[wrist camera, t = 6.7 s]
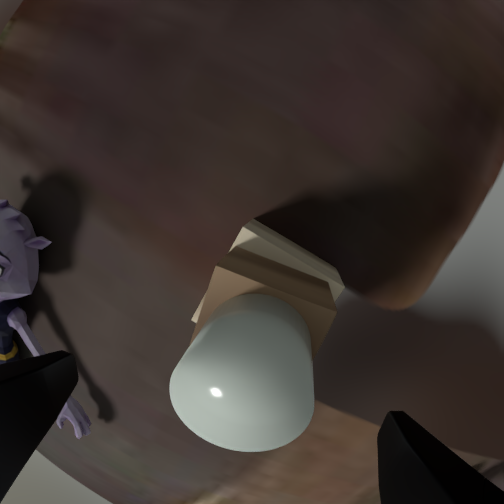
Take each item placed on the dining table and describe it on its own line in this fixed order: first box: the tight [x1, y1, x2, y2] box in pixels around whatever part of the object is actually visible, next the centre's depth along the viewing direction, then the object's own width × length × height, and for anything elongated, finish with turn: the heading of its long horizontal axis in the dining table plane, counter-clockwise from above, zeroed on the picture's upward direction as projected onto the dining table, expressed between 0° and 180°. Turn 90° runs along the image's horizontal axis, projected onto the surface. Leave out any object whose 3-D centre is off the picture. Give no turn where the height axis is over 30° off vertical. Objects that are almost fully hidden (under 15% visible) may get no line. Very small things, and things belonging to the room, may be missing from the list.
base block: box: [191, 219, 345, 323], centre depth 18 cm, size 6×6×4 cm
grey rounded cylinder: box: [170, 294, 314, 452], centre depth 10 cm, size 4×4×4 cm
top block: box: [189, 246, 337, 361], centre depth 14 cm, size 5×5×4 cm
